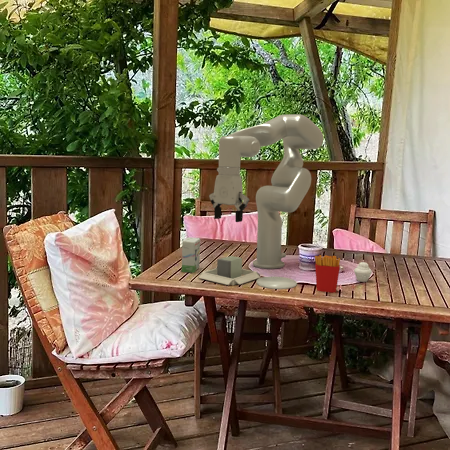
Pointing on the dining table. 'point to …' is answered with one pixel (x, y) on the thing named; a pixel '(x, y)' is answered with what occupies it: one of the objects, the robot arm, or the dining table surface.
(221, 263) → the block
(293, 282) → the cream round plate
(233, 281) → the beige square frame
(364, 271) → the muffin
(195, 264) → the ink box
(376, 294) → the dining table surface
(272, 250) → the robot arm
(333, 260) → the french fries
